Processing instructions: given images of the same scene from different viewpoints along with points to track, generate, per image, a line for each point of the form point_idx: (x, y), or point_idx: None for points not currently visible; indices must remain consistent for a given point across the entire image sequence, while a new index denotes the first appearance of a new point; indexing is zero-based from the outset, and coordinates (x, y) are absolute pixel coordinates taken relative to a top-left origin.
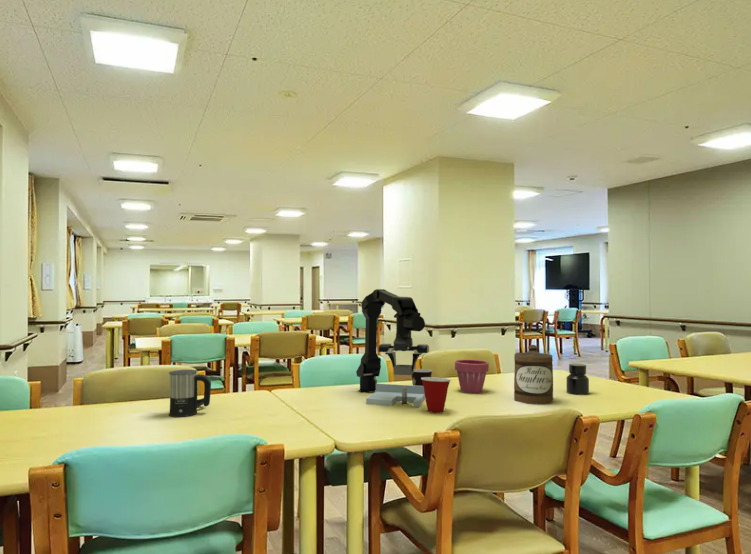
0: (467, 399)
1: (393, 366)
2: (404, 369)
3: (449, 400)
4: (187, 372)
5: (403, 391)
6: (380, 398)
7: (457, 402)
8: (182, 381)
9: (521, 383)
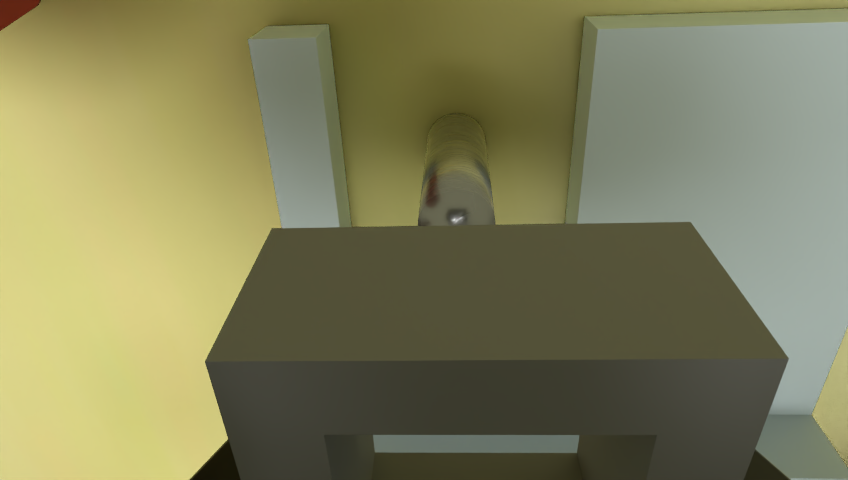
0: (8, 441)
1: (779, 477)
2: (416, 309)
3: (115, 383)
4: None
5: (464, 172)
6: (761, 93)
7: (21, 335)
8: None
9: None
